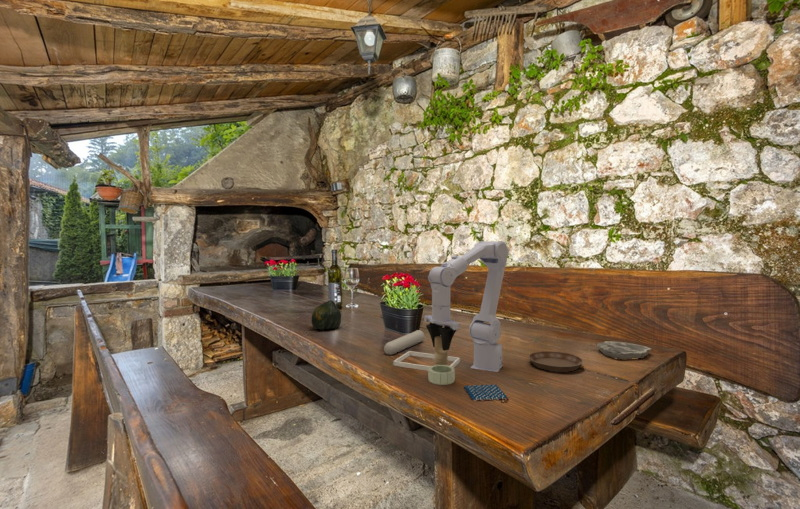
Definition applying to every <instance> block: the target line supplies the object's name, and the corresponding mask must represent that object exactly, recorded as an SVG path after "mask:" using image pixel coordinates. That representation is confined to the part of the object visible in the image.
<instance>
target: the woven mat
mask: <svg viewBox="0 0 800 509" xmlns="http://www.w3.org/2000/svg"><path fill="white" fill-rule="evenodd" d="M463 390H465V392H466V394H467V395H468V396H469V399H470V400H471V401H473V402H481V401H482V402H484V401H494V402H495V401H500V402H501V403H504V404H505V403H509V402H508V401H510V399H509V397H507V394H505V392H503V390H502V389H501V388H499V386H498V385H497V384H480V385H479V384H476V385H475V384H474V385H473V384H472V385H470V384H469V385H465V386H463Z"/></svg>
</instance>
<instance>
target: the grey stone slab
mask: <svg viewBox="0 0 800 509" xmlns="http://www.w3.org/2000/svg"><path fill="white" fill-rule="evenodd" d="M595 345H596V347H597V348H598V349H599V350H600V352H601V353H602V354H603V355H604V356H605V355H606V356H605V357H608V356H610V357H609V358H611V357H612V359H613V358H617V359H616V360H618V359H632V358H642V359H643V358H645V357H646V356H648V355H649V354H650V352H651V350H652V348H650V347H648V346H645V345H641V344H636V343H631V342H630V343H629V342H625V341H624V342H622V341H613V340H612V341H606V340H605V341H603V342H596V343H595ZM644 356H645V357H644Z"/></svg>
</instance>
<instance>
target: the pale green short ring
mask: <svg viewBox="0 0 800 509" xmlns="http://www.w3.org/2000/svg"><path fill="white" fill-rule="evenodd" d="M429 366H430V367H429V368H428V371H427V372H428V375H427V378H428V382H429V383H432V384H434V385H438V386H439V385H440V386H441V385H442V386H443V385H444V386H445V385H451V384H454V382H455V381H456V369H455V367H454V368H453V367H451V366H450V365H448V364H446V365H438V364H434V365H429Z"/></svg>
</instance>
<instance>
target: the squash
mask: <svg viewBox="0 0 800 509" xmlns="http://www.w3.org/2000/svg"><path fill="white" fill-rule="evenodd" d="M341 323H342V313H341V311H340V309H339V307H338V306H337V304H336V303H335V301H334V300H327V301H325V302H323V303H321V304H320V305H318V306H316V307H315V308H314V309H313V312H312V315H311V325H312V327H313V328H314V329H315V330H317V329H320V330H319V331H324V330H329V329H330V330H336V329H337V328H339V327H340V325H341ZM335 328H336V329H335Z"/></svg>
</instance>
